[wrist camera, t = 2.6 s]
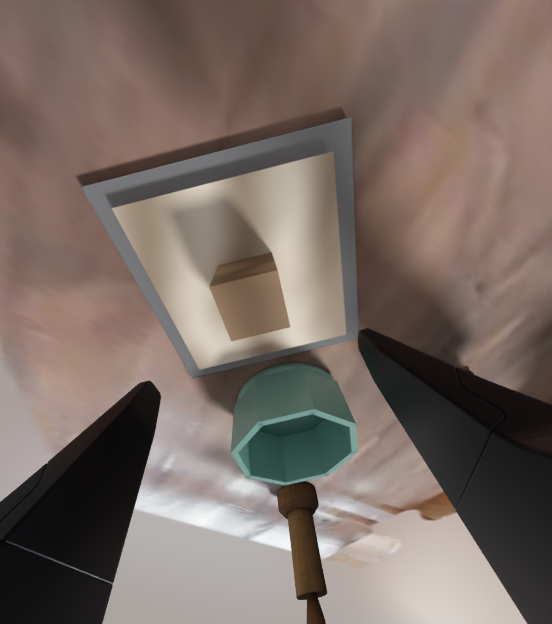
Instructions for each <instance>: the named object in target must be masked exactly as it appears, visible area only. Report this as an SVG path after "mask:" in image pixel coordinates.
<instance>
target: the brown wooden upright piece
mask: <svg viewBox="0 0 552 624" xmlns="http://www.w3.org/2000/svg"><path fill="white" fill-rule="evenodd" d="M277 498H278V507H279V512H280V513H281V514H282V515H283V516H284V517H285V518H286V519H288V524H289V532H290V541H291V549H292V558H293V568H294V577H295V587H296V596H297V599H298V600H307V624H326V623H325V619H324V616H323V612H322V609H321V606H320V604H319V600H318V597H322V596H324V595H326V594H327V590H326V584H325V579H324V574H323V569H322V564H321V559H320V553H319V548H318V543H317V537H316V532H315V526H314V520H313V514H314V513H315V511H316V509H317V508H318V499H317V494H316V489H315V487H314V486H313V485H311V484H306V483H294V484H290V485H287V486H285V487H283V488H281V489H280V490H279V491H278V493H277Z"/></svg>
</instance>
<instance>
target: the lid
mask: <svg viewBox="0 0 552 624" xmlns="http://www.w3.org/2000/svg"><path fill="white" fill-rule="evenodd" d="M112 210H113V212H114V214H115V216H116V217H117V219H118V221H119V223H120V225H121V227H122V228H123V230H124V232H125V234H126V236H127V238H128V239H129V241H130V243H131V245H132V247H133V249H134V250H135V252H136V254H137V256H138V258H139V260H140V261H141V263H142V265H143V267H144V269H145V271H146V272H147V274H148V276H149V278H150V280H151V282H152V283H153V285H154V287H155V289H156V291H157V293H158V294H159V296H160V298H161V300H162V302H163V304H164V305H165V307H166V309H167V311H168V313H169V315H170V316H171V318H172V320H173V322H174V324H175V326H176V327H177V329H178V331H179V333H180V335H181V337H182V338H183V340H184V342H185V344H186V346H187V348H188V349H189V351H190V353H191V355H192V357H193V359H194V360H195V362H196V364H197V366H198V368H199V370H200V369H205V368H209V367H213V366H217V365H221V364H225V363H230V362H234V361H238V360H242V359H246V358H250V357H255V356H259V355H263V354H267V353H271V352H275V351H280V350H284V349H288V348H292V347H296V346H300V345H305V344H309V343H313V342H317V341H321V340H325V339H329V338H334V337H338V336H342V335H346V323H345V308H344V294H343V280H342V266H341V252H340V238H339V224H338V209H337V195H336V181H335V167H334V153H333V152H329V153H325V154H321V155H317V156H313V157H309V158H305V159H302V160H298V161H294V162H290V163H286V164H282V165H278V166H274V167H270V168H267V169H263V170H259V171H255V172H251V173H247V174H243V175H239V176H235V177H231V178H228V179H224V180H220V181H216V182H212V183H208V184H204V185H200V186H196V187H193V188H189V189H185V190H181V191H177V192H173V193H169V194H165V195H161V196H157V197H154V198H150V199H146V200H142V201H138V202H134V203H130V204H126V205H122V206H119V207H115V208H112Z"/></svg>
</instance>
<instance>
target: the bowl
mask: <svg viewBox="0 0 552 624" xmlns="http://www.w3.org/2000/svg"><path fill="white" fill-rule="evenodd" d="M357 452H358V450H357V432H356V423H355V421H354V418H353V416H352V414H351V412H350V410H349V407H348V405H347V403H346V401H345V398H344V396H343V394H342V392H341V390H340V387H339V385H338V383H337V381H335V380H334V379H333V377H332V376H331V375H330V374H329V373H327V372H326V371H325V370H323V369H321V368H319V367H317V366H314V365H310V364H306V363H284V364H279V365H275V366H271V367H269V368H266V369H264V370H262V371H260V372H258V373H257V374H255V375H254V376H252V377H251V378H250V379H249V380H248V381H247V382H246V383H245V384H244V385H243V387H242V388H241V390H240V392H239V394H238V398H237V403H236V404H235V406H234V416H233V430H232V444H231V454H232V456H233V458H234V459H235V461H236V463H237V464H238V466H239V467H240V469H241V471H242V472H243V474H244V476H245V477H246V478H249V479H254V480H259V481H264V482H270V483H275V484H280V485H289V484H293V483H298V482H302V481H307V480H311V479H315V478H320V477H324V476H328V475H329V474H331V473H332V472H333V471H334V470H336V469H337V468H338V467H339V466H341V465H342V464H343V463H345V462H346V461H347V460H348V459H350V458H351V457H352V456H353V455H355V454H356V453H357Z"/></svg>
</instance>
